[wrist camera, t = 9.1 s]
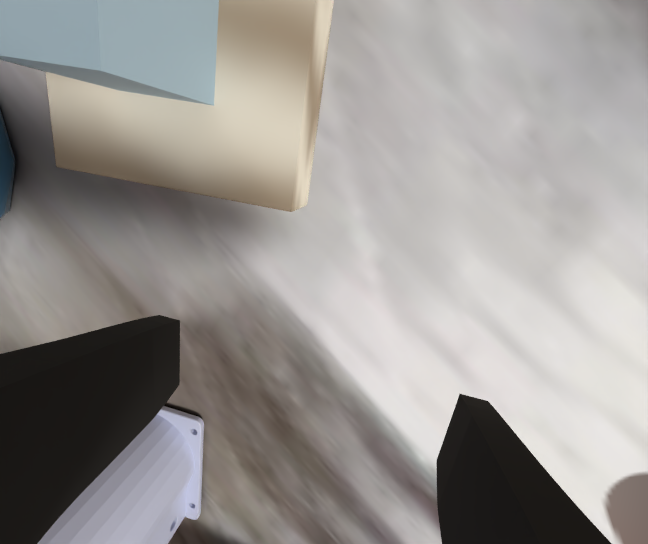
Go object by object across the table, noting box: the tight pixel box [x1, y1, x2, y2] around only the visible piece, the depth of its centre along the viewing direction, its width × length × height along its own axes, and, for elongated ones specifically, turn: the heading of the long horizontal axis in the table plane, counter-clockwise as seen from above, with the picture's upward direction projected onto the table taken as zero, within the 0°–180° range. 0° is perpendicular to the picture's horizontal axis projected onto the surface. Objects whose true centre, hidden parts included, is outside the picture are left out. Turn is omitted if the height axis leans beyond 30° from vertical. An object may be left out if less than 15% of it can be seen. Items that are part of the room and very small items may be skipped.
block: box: [0, 0, 219, 106], centre depth 11 cm, size 4×4×6 cm
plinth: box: [45, 0, 334, 212], centre depth 14 cm, size 12×12×2 cm
